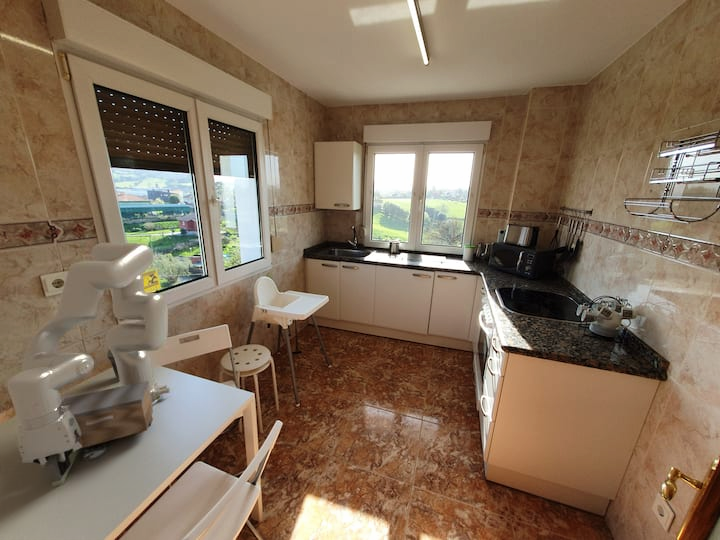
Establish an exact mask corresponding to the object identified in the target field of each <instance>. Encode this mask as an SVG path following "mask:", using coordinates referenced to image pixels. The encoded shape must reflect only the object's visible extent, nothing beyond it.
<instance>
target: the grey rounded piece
mask: <svg viewBox="0 0 720 540" xmlns="http://www.w3.org/2000/svg"><path fill="white" fill-rule="evenodd" d="M85 448H86V449H85V450H84V451H83V453H82V454H83V460H84V461H85V462H91V461H92V462H93V461H95V460H97V459H99V458H101V457H102V456H103V455H104V454H105V453H106V452H107V450H108V447H107V443H106V442H102V443H98V444H95V445H91V446H87V447H85Z"/></svg>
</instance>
